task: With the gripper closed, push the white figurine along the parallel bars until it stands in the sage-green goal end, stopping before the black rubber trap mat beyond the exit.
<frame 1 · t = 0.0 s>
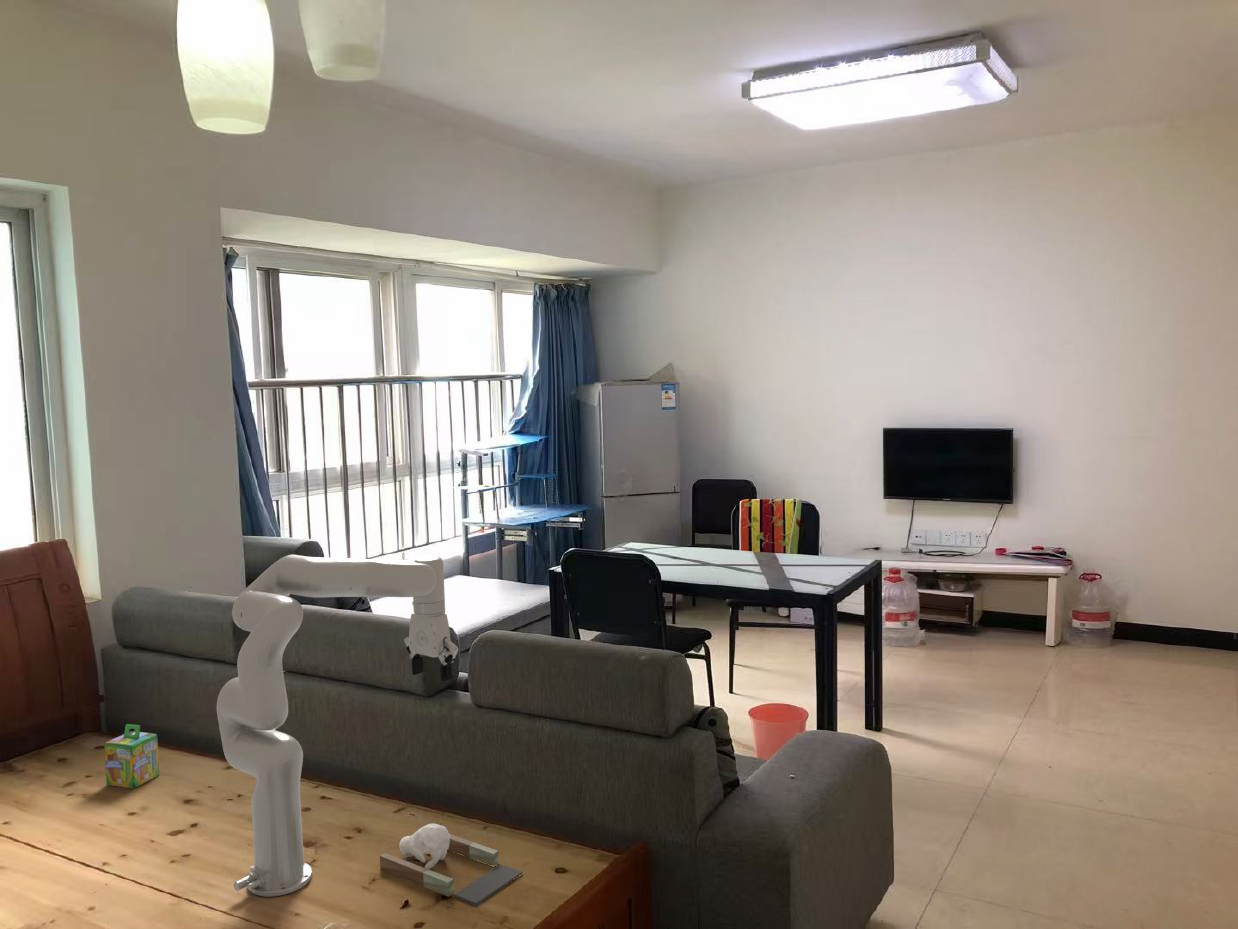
hand: (432, 676, 232), 31 cm above the table, fingers open, 9 cm apart
parallel bars: (439, 867, 202), on the table
chalk box: (133, 781, 250), on the table
white figurine: (423, 862, 205), on the table
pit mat: (489, 885, 194), on the table
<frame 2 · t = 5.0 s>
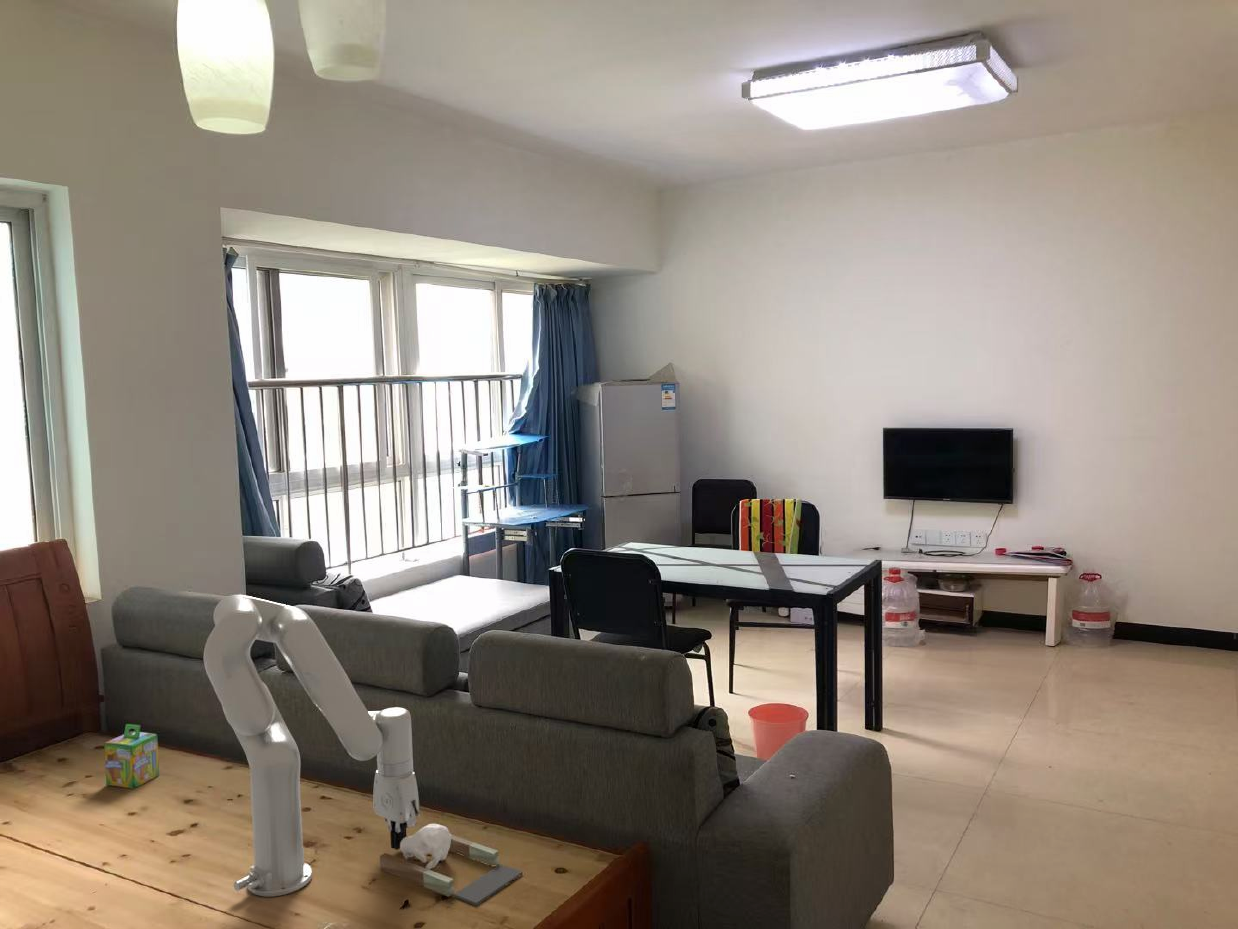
hand: (399, 846, 209), 1 cm above the table, fingers closed
white figurine: (424, 862, 205), on the table, touching gripper
everything else where it was.
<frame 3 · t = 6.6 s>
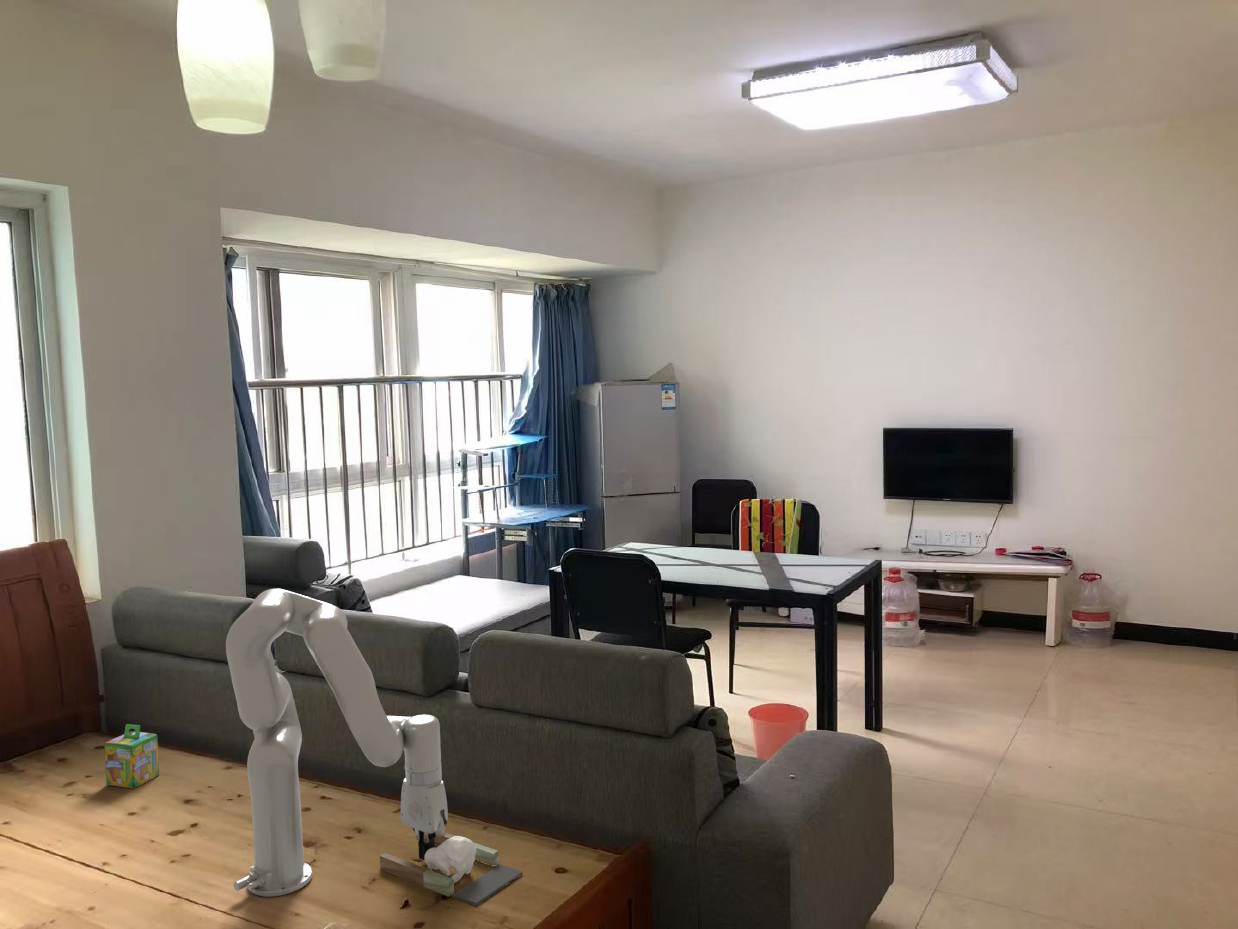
hand: (427, 857, 204), 1 cm above the table, fingers closed
white figurine: (448, 875, 199), on the table, touching gripper
everything else where it was.
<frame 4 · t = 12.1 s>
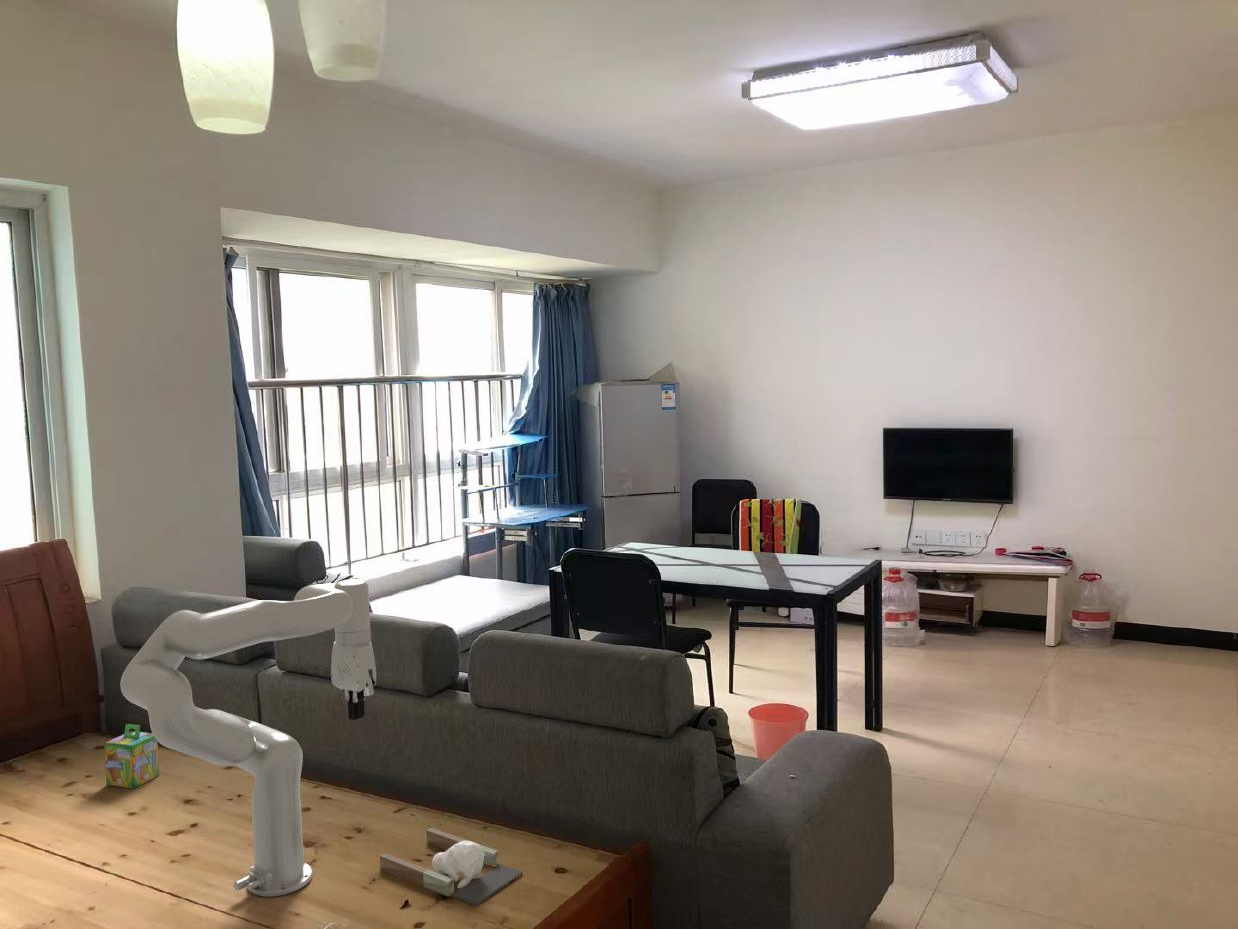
hand: (356, 717, 210), 29 cm above the table, fingers closed
white figurine: (456, 880, 197), on the table
everything else where it was.
at the end: white figurine inside the target area (1.6 cm from its centre), on the table; white figurine tilted 0°; white figurine touching table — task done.
